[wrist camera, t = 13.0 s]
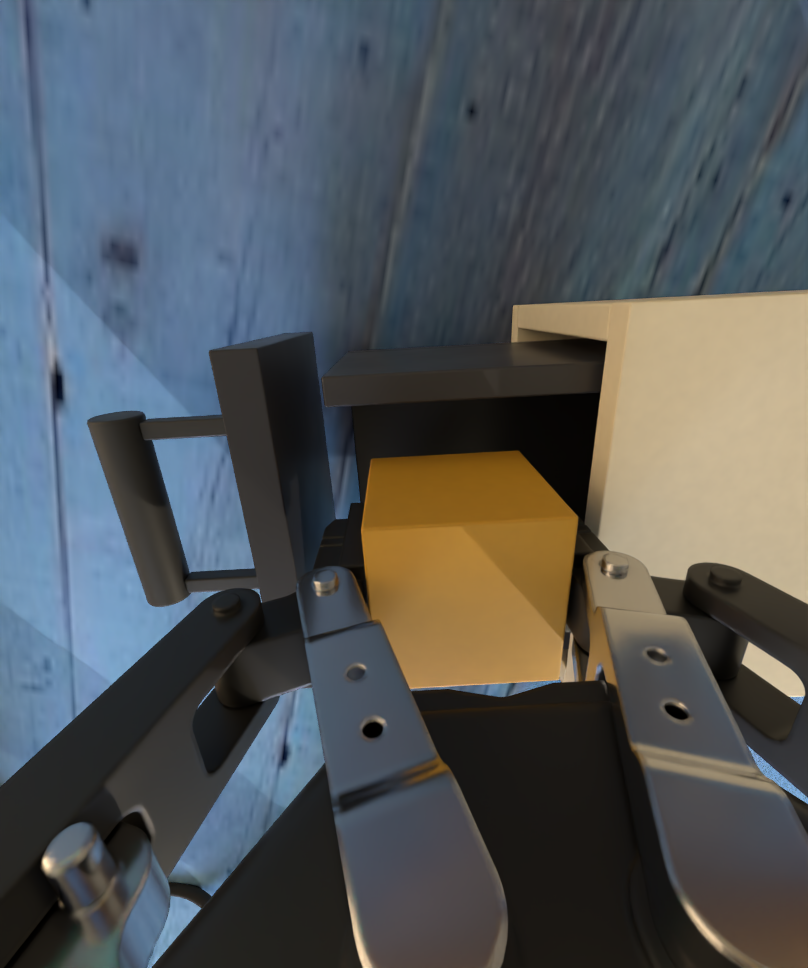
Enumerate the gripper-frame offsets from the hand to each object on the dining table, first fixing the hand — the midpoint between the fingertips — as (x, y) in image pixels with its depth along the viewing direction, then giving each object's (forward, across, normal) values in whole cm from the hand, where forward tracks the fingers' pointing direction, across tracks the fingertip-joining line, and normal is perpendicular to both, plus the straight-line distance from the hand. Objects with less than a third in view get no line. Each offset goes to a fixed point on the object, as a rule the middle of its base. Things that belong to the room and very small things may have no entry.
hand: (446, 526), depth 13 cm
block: (0, 0, 0) cm, 0 cm away
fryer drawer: (+7, +1, 0) cm, 7 cm away
